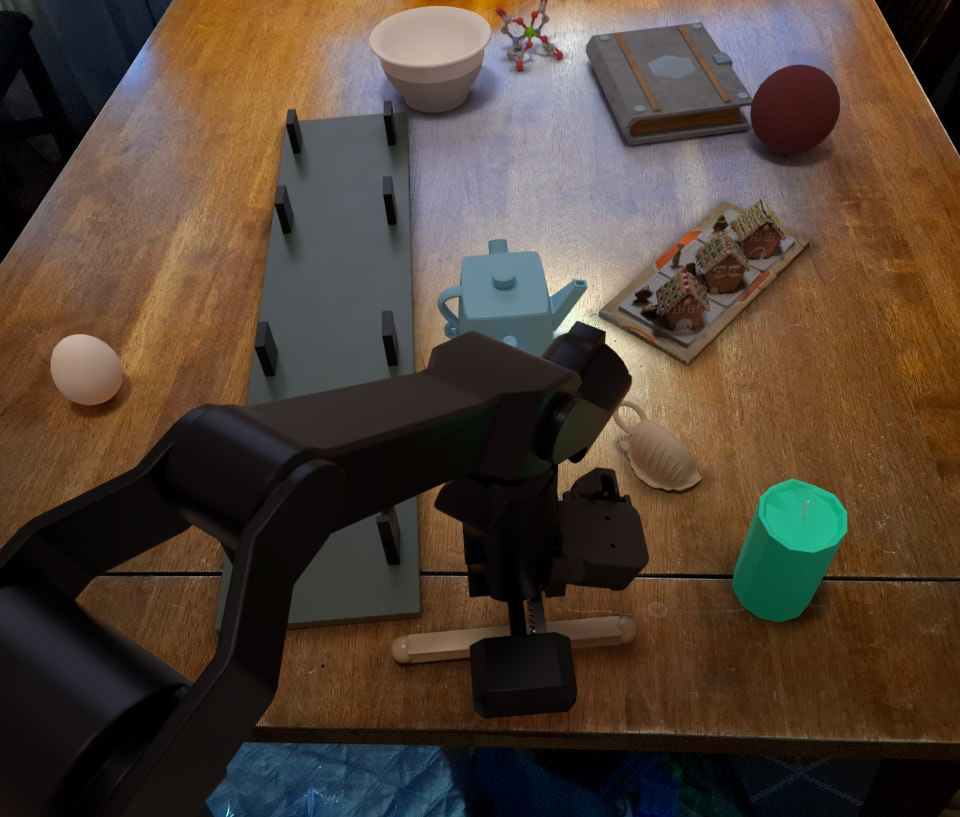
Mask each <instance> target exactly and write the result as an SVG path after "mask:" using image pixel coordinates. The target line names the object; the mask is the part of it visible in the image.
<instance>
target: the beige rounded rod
mask: <svg viewBox="0 0 960 817" xmlns="http://www.w3.org/2000/svg"><path fill="white" fill-rule="evenodd" d="M545 622H546V630H547V632H557V633H560V634H563V635H565V636H568V637H570V642H571V649H572V650H573V649H583V648H594V647H606V646H607V647H608V646H618V645H621V644H625V645H626V644H629V643H632V642H633V641H634V640H635V639H636V638H637V635H638V626H637V623H636V622H635V620H634V619H633V618H631V617H629V616H625V615H621V616H620V615H613V616H601V617H591V618H581V619H569V620H557V621H556V620H555V621H545ZM526 628H527V634H531V633H530V630H531V629H533V628H530V623H526ZM501 636H511V635H510V625H502V626H492V627H491V626H490V627H479V628H468V629H467V628H466V629H457V630H455V629H454V630H446V631H434V632H423V633H422V632H421V633H413V634H412V633H411V634H407V635H400V636H398V637H396V638H395V639H394V640H393V642H392V644H391V647H390V654H391V656H392V658H393V659H394V660H395V661H396V662H398V663H399V664H408V663H410V664H415V663H426V662H437V661H447V660H448V661H449V660H450V661H451V660H461V659H470V649H469V646H470V645H472V644H473V643H475V642H477V641H479V640H481V639H483V638H490V637H501Z"/></svg>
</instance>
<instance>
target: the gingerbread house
mask: <svg viewBox="0 0 960 817" xmlns="http://www.w3.org/2000/svg"><path fill="white" fill-rule="evenodd" d="M811 242H812V240H809V239H808V238H806V237H803V236H801V235H799V234H797V233H795V232H793V231H791V230H789V229H787V228H785V227H784V225H782V222H781V220H780V219H779V217H778V216H777V215H776V213H775V211H774V210H773V208H772V207H771V206H769V204H768V202H767V201H766V200H765V199H764V197H760V198H759V200H756V203H754V204H753V205H750V207H749V208H747V209H743V208H741V207H739V206H737V205H735V204H732V203H730V202H728V201H722V203H721V204H719V205H718V207H716V208H715V209H713V211H711V212H710V213H708V215H707V216H706V217H705V218H704V219H702V220H701V221H700V222H698V224H697V225H695V226H694V227H693V228H692V229H690V231H688V232H687V233H686V234H685V235H683V237H681V238H680V239H679V240H678V241H677V242H676V243H674V244H673V245H672V247H670V248H669V249H668V250H666V251H665V252H664V253H663V254H662V255H661V256H659V257H658V258H657V259H656V260H655V261H654V262H653V263H652V264H650V265H649V266H648V267H647V268H646V269H645V270H643V271H642V272H641V273H640V274H639V275H638V276H636V278H635V279H634V280H632V281H631V282H630V283H629V284H628V285H627V286H626V287H624V288H623V289H622V290H621V291H620V292H619V293H617V294H616V295H615V296H614V297H613V298H612V299H611V300H610V301H608V302H607V303H605V305H604V306H603V307H601V308H600V309H599V311H598V317H600V318H601V319H603V320H604V321H607V322H609V323H610V324H612V325H614V326H616V327H618V328H619V329H621V330H623V331H625V332H627V333H628V334H630V335H632V336H634V337H636V338H637V339H639V340H641V341H643V342H644V343H647V344H648V345H650V346H652V347H654V348H655V349H657V350H659V351H661V352H663V353H665V354H666V355H668V356H670V357H671V358H674V359H675V360H677V361H679V362H681V363H682V364H684V365H686V366H690V365H691V364H692V363H693V361H695V360H696V359H697V358H698V356H699V355H700V354H702V352H704V351H705V349H707V348H708V347H709V346H710V345H711V344H712V342H714V341H715V340H716V339H717V338H718V336H720V335H721V334H722V333H723V332H724V331H725V330H726V329H727V328H728V327H729V326H730V325H731V324H732V323H733V322H734V321H735V320H736V319H737V318H738V317H739V316H740V315H741V314H742V313H743V312H744V311H746V309H747V308H748V307H749V306H750V305H751V304H752V303H753V302H754V301H755V300H756V299H757V298H758V297H759V296H761V294H762V293H763V292H764V291H765V290H766V289H767V288H768V287H769V286H770V285H772V283H773V282H774V281H776V279H777V278H778V277H780V275H781V274H782V273H784V271H785V270H786V269H787V268H788V267H790V266H791V264H792V263H793V262H794V261H795V260H796V259H797V258H798V257H800V255H801V254H802V253H804V251H805V250H806V249H807V248H808V247H810V245H811Z"/></svg>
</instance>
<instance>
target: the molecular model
mask: <svg viewBox="0 0 960 817" xmlns="http://www.w3.org/2000/svg"><path fill="white" fill-rule="evenodd" d="M548 2H549V0H540V1H539V4H538V7H537V10H533V11H532V12H531V14H530V17H531V22H530V25H529V26H527V25H526V24H525V23H524V18H523V17H522V16H521V17H520V16H519V17H518V18H512V16H510V15H509V14H508V13H507V12H506V11H505V9H504V8H503V7H502V6H497V7H496V9H495V12H496V14H497V15H498V16H499V18H500V19H501V20H502V21H503V22H504V25H503V26H501V28H500V33H502V35H507V36H508V37H509V38H510V39H511V42H512V45H511V48H510V49H508V50H507V51H506V56H507V57H508V58H514V57H516V59H515V60H516V61H515V62H516V64H515V65H516V66H515V68H516V70H517V71H522V70H523V68H524V58H525V53H526V52H527V51H528V50H531V49H533V46H534V43H533V41H532V38H533V37H535V38H537V39H539V40H540V42H541V46H542V48H543V49H544V50H547V51H548V52H550V53H551V54H552V55H553V56H554V57H556V59H558V60H560V59H562V58H563V57H564V53H563V52H562V51H561V50H560V49H559V48H558V47H556V45H555V44H554V43H552V42H550V41H549V38H548V36H547V35H546V34H545V35H542V34H541V33H542V29H543V27H544V25H545V24H548V23H549V21H550V16H549V15H548V14H546V10H547V5H548ZM539 14H541V15H542V16H541V23H540V25H539V26H538V28H534V24H535V20H536V19H538V17H539ZM511 23H515V24H516V25H518V26H521V27H522V28H523V29H524V30H523V34H521V35H520V36H514V35H513V34H512V33H511V32H510V29H509V27H508V26H509V24H511ZM526 38H527V42H526V43H525V47H524V48H523V49H522V51H521V50H520V51H517V52H515V51H514V50H515V48H516V49H521V48H522V46H523V43H524V42H523V41H525V39H526Z"/></svg>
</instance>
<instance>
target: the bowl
mask: <svg viewBox="0 0 960 817" xmlns="http://www.w3.org/2000/svg"><path fill="white" fill-rule="evenodd" d="M492 35H493V31H492V28H491V25H490V22H488V21H487V19H486V18H485V17H483V16H482V15H480V14H479V13H477V12H474V11H472V10H468V9H465V8H461V7H456V6H445V5H429V6H420V7H416V8H415V7H414V8H410V9H406V10H404V11H400V12H397V13H395V14H392V15H390V16H388V17H387V18H385V19H383V20H382V21H380V22H379V23H378V24H377V25H376V26H374V27H373V29H372V31H371V32H370V34H369V38H368V44H369V48H370V50H371V52H372V54H374V55H375V56H376V57H377V58H379V63H380V65H381V68H382V70H383V73H384V75H385V77H386V79H387V80H388V81H389V83H390V84H391V85H392V87H393V89H395V91H397V92H398V93H399V95H401V96H402V97H403V98H404V101H405V104H406V105H407V106H408V107H410V108H411V109H413V110H416V111H417V112H422V113H428V114H429V113H433V114H434V113H443V112H448V111H451V110H454V109H456V108H458V107H459V106H461V105H463V104H464V103H465V102H466V100H467V99H468V97H469V96H468V94H469V92H470V90H471V88H472V87H473V86H474V84H475V82H476V81H477V79H478V76H479V74H480V73H481V70H482V67H483V62H484V58H485V48H486V47H487V46H488V45H489V44H490V41H491V40H492Z"/></svg>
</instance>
